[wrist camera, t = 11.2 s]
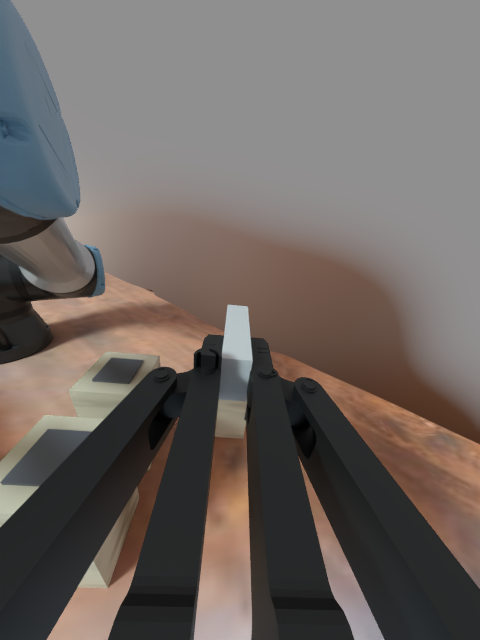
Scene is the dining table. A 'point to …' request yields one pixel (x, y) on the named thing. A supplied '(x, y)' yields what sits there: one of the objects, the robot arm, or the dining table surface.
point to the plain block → (231, 419)
